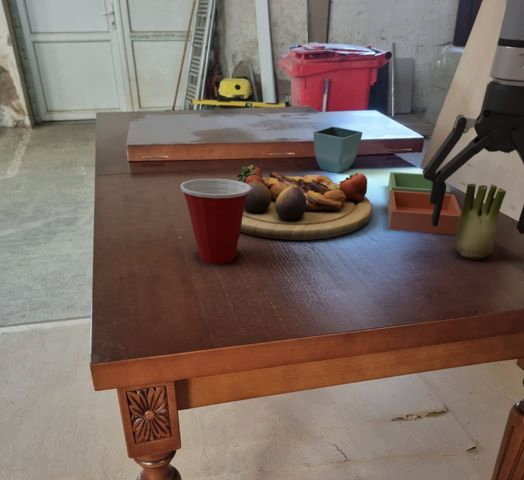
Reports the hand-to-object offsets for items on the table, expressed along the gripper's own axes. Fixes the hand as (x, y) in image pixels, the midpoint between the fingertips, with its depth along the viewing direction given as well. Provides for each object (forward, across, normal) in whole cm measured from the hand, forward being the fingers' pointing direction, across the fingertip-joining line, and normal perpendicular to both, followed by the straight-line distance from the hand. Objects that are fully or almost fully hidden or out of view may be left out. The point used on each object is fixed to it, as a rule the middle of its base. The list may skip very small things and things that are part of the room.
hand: (477, 227), depth 85 cm
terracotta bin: (+5, -7, +16) cm, 18 cm away
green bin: (+5, -7, +30) cm, 31 cm away
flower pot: (+5, -25, +47) cm, 54 cm away
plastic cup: (+6, -41, -9) cm, 43 cm away
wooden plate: (+6, -32, +15) cm, 36 cm away
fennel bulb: (+5, 0, 0) cm, 5 cm away
